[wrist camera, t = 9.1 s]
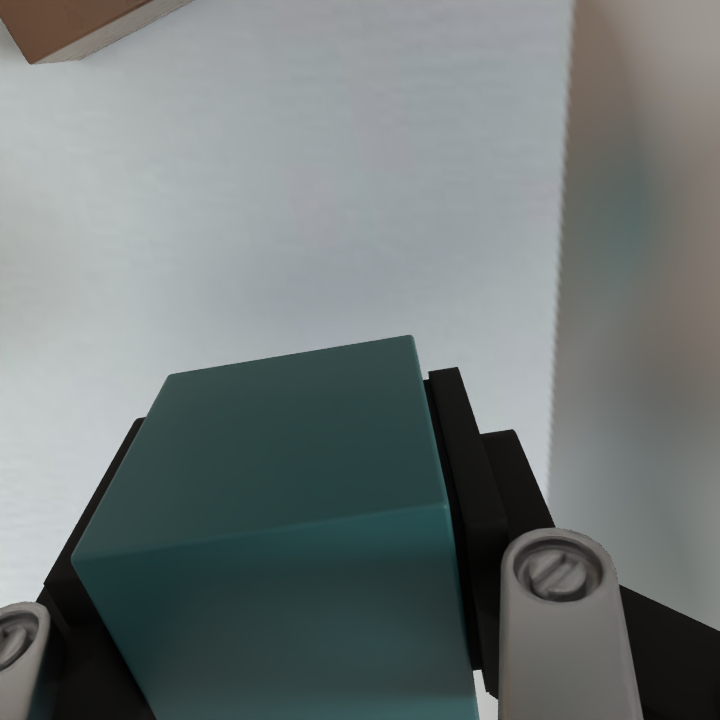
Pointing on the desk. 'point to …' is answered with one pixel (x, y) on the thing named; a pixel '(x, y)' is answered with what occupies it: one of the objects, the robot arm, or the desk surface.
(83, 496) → the desk surface
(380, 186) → the desk surface
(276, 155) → the desk surface
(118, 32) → the lock plate
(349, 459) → the key block
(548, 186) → the desk surface
